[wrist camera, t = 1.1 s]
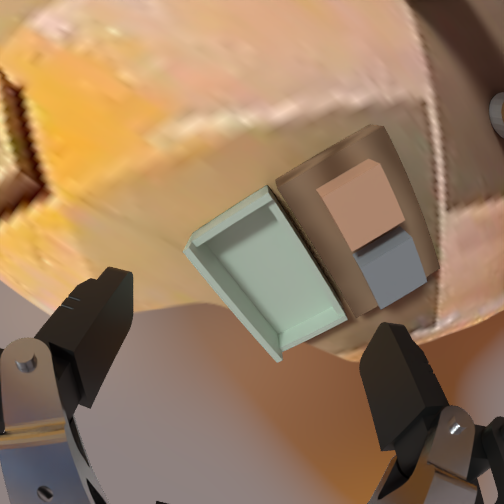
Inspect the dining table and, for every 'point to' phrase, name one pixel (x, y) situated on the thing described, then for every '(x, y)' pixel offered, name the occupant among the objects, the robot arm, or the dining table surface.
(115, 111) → the dining table surface
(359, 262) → the slate tile
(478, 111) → the dining table surface
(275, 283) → the tray
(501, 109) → the coffee cup
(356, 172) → the terracotta tile
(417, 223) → the grey brown flat block
